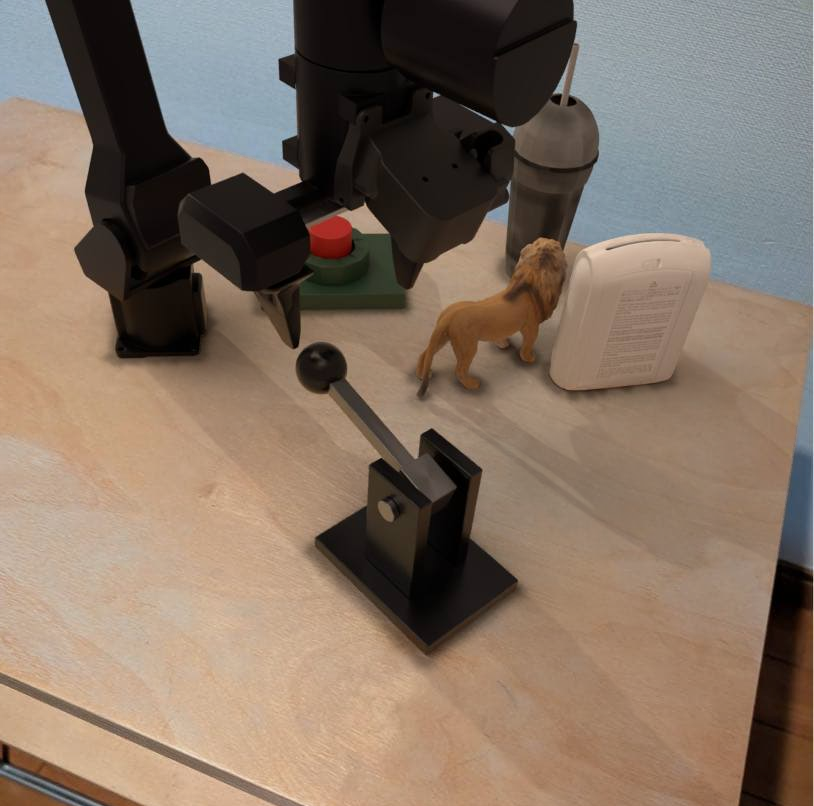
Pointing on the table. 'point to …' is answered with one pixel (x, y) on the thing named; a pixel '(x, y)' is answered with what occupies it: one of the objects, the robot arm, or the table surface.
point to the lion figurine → (500, 313)
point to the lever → (370, 421)
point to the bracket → (419, 550)
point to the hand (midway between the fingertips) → (349, 314)
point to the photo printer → (629, 310)
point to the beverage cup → (550, 170)
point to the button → (331, 238)
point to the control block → (354, 277)
